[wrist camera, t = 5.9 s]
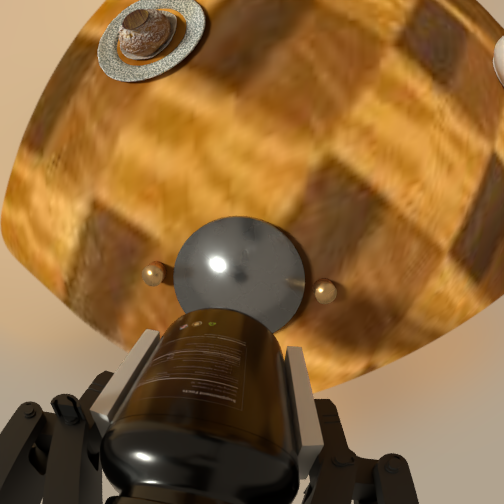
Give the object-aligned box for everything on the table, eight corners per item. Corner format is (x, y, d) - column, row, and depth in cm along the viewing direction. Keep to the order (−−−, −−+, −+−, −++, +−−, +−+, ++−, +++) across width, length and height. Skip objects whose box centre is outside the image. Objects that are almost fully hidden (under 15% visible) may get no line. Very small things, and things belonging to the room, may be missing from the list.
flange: (148, 208, 24) (142, 210, 23) (343, 227, 24) (348, 229, 23) (150, 323, 27) (145, 330, 26) (320, 341, 27) (323, 349, 25)
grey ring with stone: (85, 76, 21) (62, 64, 17) (136, -5, 18) (122, -24, 14) (172, 96, 22) (155, 80, 17) (226, 6, 19) (221, -19, 15)
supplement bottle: (291, 391, 15) (313, 580, 3) (184, 402, 15) (136, 566, 4) (272, 290, 13) (300, 567, 2) (146, 310, 14) (10, 491, 2)
